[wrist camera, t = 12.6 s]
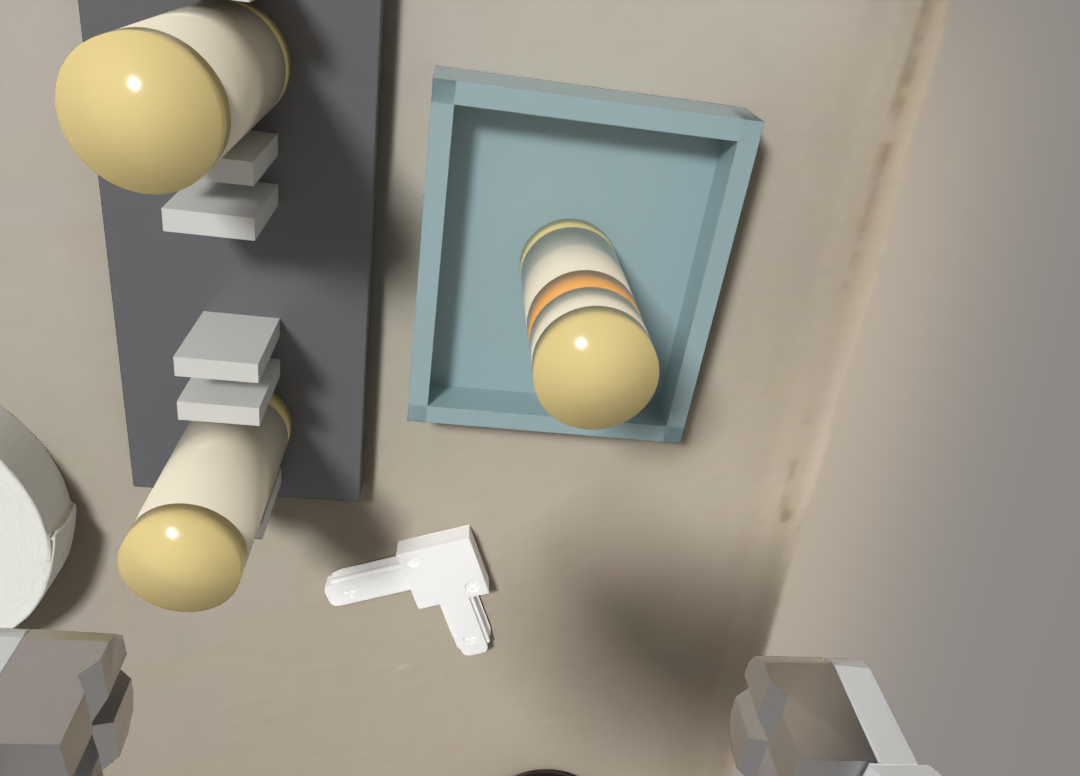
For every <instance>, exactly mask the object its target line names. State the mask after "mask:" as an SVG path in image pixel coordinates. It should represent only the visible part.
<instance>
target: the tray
mask: <svg viewBox="0 0 1080 776" xmlns="http://www.w3.org/2000/svg"><path fill="white" fill-rule="evenodd" d="M764 123H765V122H764V121H762V120H761V119H760V118H758V117H757V116H756V115H754V114H753V113H752V112H750V111H749V110H748V109H746V108H743V107H735V106H728V105H721V104H713V103H706V102H699V101H691V100H684V99H677V98H669V97H662V96H655V95H647V94H640V93H633V92H625V91H618V90H611V89H603V88H596V87H589V86H581V85H574V84H566V83H559V82H552V81H544V80H537V79H530V78H522V77H515V76H508V75H500V74H493V73H486V72H478V71H471V70H464V69H456V68H449V67H442V66H436V67H435V71H434V75H433V84H432V97H431V111H430V124H429V137H428V151H427V164H426V177H425V190H424V204H423V217H422V230H421V244H420V257H419V270H418V284H417V297H416V310H415V324H414V337H413V350H412V364H411V377H410V390H409V403H408V417H407V421H418V422H430V423H442V424H454V425H466V426H478V427H490V428H502V429H514V430H527V431H539V432H551V433H563V434H575V435H587V436H599V437H611V438H623V439H636V440H648V441H660V442H672V443H680V442H681V438H682V434H683V430H684V426H685V423H686V419H687V415H688V411H689V407H690V404H691V400H692V396H693V392H694V388H695V385H696V381H697V377H698V373H699V369H700V366H701V362H702V358H703V354H704V350H705V347H706V343H707V339H708V335H709V332H710V328H711V324H712V320H713V316H714V313H715V309H716V305H717V301H718V297H719V294H720V290H721V286H722V282H723V278H724V275H725V271H726V267H727V263H728V259H729V256H730V252H731V248H732V244H733V240H734V237H735V233H736V229H737V225H738V221H739V218H740V214H741V210H742V206H743V202H744V199H745V195H746V191H747V187H748V183H749V180H750V176H751V172H752V168H753V164H754V161H755V157H756V153H757V149H758V145H759V142H760V138H761V134H762V130H763V126H764ZM561 219H578V220H583V221H586V222H589V223H591V224H593V225H595V226H596V227H598V228H599V229H600V230H602V231H603V232H604V233H605V235H606V236H607V237H608V238H609V240H610V241H611V243H612V246H613V248H614V250H615V253H616V255H617V258H618V260H619V263H620V265H621V268H622V270H623V273H624V275H625V278H626V280H627V282H628V285H629V287H630V290H631V292H632V295H633V297H634V300H635V302H636V305H637V307H638V310H639V312H640V315H641V317H642V320H643V322H644V325H645V327H646V329H647V332H648V334H649V337H650V339H651V342H652V344H653V347H654V349H655V352H656V354H657V358H658V362H659V379H658V384H657V387H656V390H655V392H654V394H653V396H652V398H651V399H650V401H649V402H648V404H647V405H646V406H645V407H644V408H643V409H642V410H641V411H640V412H639V413H638V414H637V415H635V416H634V417H632V418H631V419H629V420H628V421H626V422H624V423H622V424H619V425H617V426H614V427H610V428H606V429H598V430H585V429H578V428H575V427H571V426H568V425H566V424H563V423H562V422H560V421H558V420H556V419H555V418H554V417H552V416H551V415H550V414H549V413H548V412H547V411H546V410H545V409H544V407H543V406H542V405H541V403H540V401H539V399H538V397H537V394H536V391H535V387H534V380H533V372H532V364H531V356H530V348H529V340H528V332H527V324H526V316H525V308H524V299H523V291H522V283H521V275H520V258H521V254H522V251H523V248H524V246H525V244H526V243H527V241H528V240H529V238H530V237H531V236H532V235H533V234H534V233H535V232H536V231H537V230H538V229H540V228H541V227H543V226H544V225H546V224H548V223H551V222H554V221H557V220H561Z"/></svg>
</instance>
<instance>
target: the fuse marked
mask: <svg viewBox="0 0 1080 776" xmlns="http://www.w3.org/2000/svg"><path fill="white" fill-rule="evenodd" d="M520 275H521V283H522V291H523V299H524V308H525V316H526V324H527V332H528V340H529V348H530V356H531V364H532V372H533V380H534V387H535V391H536V394H537V397H538V399H539V401H540V403H541V405H542V406H543V407H544V409H545V410H546V411H547V412H548V413H549V414H550V415H551V416H552V417H554V418H555V419H556V420H558V421H560V422H562V423H563V424H566V425H568V426H571V427H575V428H578V429H585V430H598V429H606V428H610V427H614V426H617V425H619V424H622V423H624V422H626V421H628V420H629V419H631V418H632V417H634V416H635V415H637V414H638V413H639V412H640V411H641V410H642V409H643V408H644V407H645V406H646V405H647V404H648V402H649V401H650V399H651V398H652V396H653V394H654V392H655V390H656V387H657V384H658V379H659V362H658V358H657V354H656V352H655V349H654V347H653V344H652V342H651V339H650V337H649V334H648V332H647V329H646V327H645V325H644V322H643V320H642V317H641V315H640V312H639V310H638V307H637V305H636V302H635V300H634V297H633V295H632V292H631V290H630V287H629V285H628V282H627V280H626V278H625V275H624V273H623V270H622V268H621V265H620V263H619V260H618V258H617V255H616V253H615V250H614V248H613V246H612V243H611V241H610V240H609V238H608V237H607V236H606V235H605V233H604V232H603V231H602V230H600V229H599V228H598V227H596V226H595V225H593V224H591V223H589V222H586V221H583V220H578V219H561V220H557V221H554V222H551V223H548V224H546V225H544V226H543V227H541V228H540V229H538V230H537V231H536V232H535V233H534V234H533V235H532V236H531V237H530V238H529V240H528V241H527V243H526V244H525V246H524V248H523V251H522V254H521V258H520Z"/></svg>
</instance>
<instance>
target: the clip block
mask: <svg viewBox="0 0 1080 776" xmlns="http://www.w3.org/2000/svg"><path fill="white" fill-rule="evenodd" d="M199 1H202V0H78V4H79V12H80V21H81V30H82V39H83V42H85V41H87V40H88V39H90V38H93V37H95V36H98V35H101V34H104V33H107V32H110V31H113V30H116V29H119V28H122V27H125V26H128V25H131V24H134V23H137V22H140V21H143V20H146V19H149V18H152V17H155V16H158V15H160V14H163V13H166V12H169V11H172V10H175V9H178V8H181V7H184V6H187V5H190V4H193V3H196V2H199ZM235 1H242V2H249V3H251V4H253V5H255V6H256V7H258V8H259V9H261V10H262V11H263V12H265V13H266V14H267V15H268V16H269V17H270V18H271V19H272V20H273V21H274V22H275V23H276V25H277V26H278V27H279V29H280V31H281V32H282V34H283V36H284V38H285V40H286V42H287V45H288V48H289V51H290V57H291V77H290V82H289V85H288V88H287V90H286V92H285V94H284V96H283V97H282V98H281V100H280V101H279V102H278V103H277V104H276V105H275V106H274V107H273V108H272V109H271V110H270V111H269V112H268V113H267V114H266V115H265V116H264V117H263V118H262V119H261V120H260V121H259V122H258V123H257V124H256V125H255V126H254V127H253V128H252V129H251V130H250V131H249V132H248V133H247V134H245V135H244V136H243V137H242V138H241V139H240V140H239V141H238V142H237V143H236V144H235V145H234V146H233V147H232V148H231V149H230V150H229V151H228V152H227V153H226V154H225V155H224V156H223V157H222V158H221V159H220V160H219V161H218V162H217V163H216V164H215V165H214V166H213V167H212V168H211V169H210V170H209V171H208V172H207V173H206V174H205V175H204V176H203V177H202V178H201V179H199V180H198V181H197V182H195V183H194V184H193V185H191V186H189V187H187V188H185V189H182V190H180V191H177V192H173V193H168V194H157V195H154V194H143V193H137V192H133V191H130V190H126V189H124V188H121V187H119V186H117V185H114V184H112V183H111V182H109V181H107V180H105V179H104V178H102V177H101V176H99V175H98V178H99V187H100V196H101V205H102V213H103V222H104V231H105V240H106V248H107V257H108V266H109V274H110V283H111V292H112V301H113V309H114V318H115V327H116V336H117V344H118V353H119V362H120V371H121V379H122V388H123V397H124V405H125V414H126V423H127V432H128V440H129V449H130V458H131V467H132V475H133V484H134V486H137V487H151V488H153V487H154V485H155V484H156V482H157V480H158V478H159V476H160V475H161V473H162V471H163V469H164V467H165V466H166V464H167V462H168V460H169V458H170V456H171V455H172V453H173V451H174V449H175V447H176V446H177V444H178V442H179V440H180V438H181V436H182V435H183V433H184V431H185V429H186V427H187V426H188V424H189V422H190V421H203V422H215V423H228V424H240V425H253V426H260V424H261V421H262V419H263V416H264V414H265V412H266V409H267V407H268V404H269V402H270V399H271V397H272V395H273V392H275V393H276V394H277V395H278V396H279V397H280V398H281V399H282V400H283V401H284V402H285V404H286V405H287V407H288V409H289V411H290V414H291V417H292V432H291V435H290V438H289V441H288V444H287V447H286V450H285V452H284V455H283V458H282V461H281V464H280V467H279V470H278V473H277V476H276V478H275V481H274V484H273V487H272V490H271V493H270V496H269V499H268V502H267V504H266V507H265V510H264V513H263V516H262V519H261V522H260V525H259V527H258V530H257V533H256V536H255V539H263V536H264V533H265V530H266V527H267V524H268V521H269V518H270V515H271V512H272V509H273V506H274V503H275V500H276V497H277V496H280V497H294V498H308V499H323V500H337V501H351V502H359V497H360V491H361V485H362V463H363V442H364V420H365V399H366V377H367V355H368V334H369V312H370V291H371V269H372V247H373V226H374V204H375V183H376V161H377V139H378V118H379V96H380V74H381V53H382V31H383V10H384V0H235Z"/></svg>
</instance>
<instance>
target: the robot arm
mask: <svg viewBox="0 0 1080 776" xmlns="http://www.w3.org/2000/svg"><path fill="white" fill-rule="evenodd" d="M126 655H127V652H126V648H125V644H124V639H123V636H122V635H118V634H108V633H91V632H75V631H59V630H42V629H17V628H0V776H103V773H102V770H103V769H104V768H106V767H107V766H108V765H109V764H111V763H112V762H113V761H114V760H115V759H117V758H118V757H119V756H120V754H121V751H122V748H123V746H124V743H125V740H126V738H127V735H128V731H129V726H130V721H131V717H132V712H133V687H132V680H131V678H130V677H129V676H127V675H126V674H125V673H124V672H123V671H122V670H120V669H121V667H122V664H123V662H124V660H125V657H126ZM744 676H745V679H746V682H747V685H748V688H747V689H746V690H744V691H743V692H742V693H740V694H739V695H737V696H736V697H735V701H734V704H733V707H732V710H731V713H730V732H729V734H730V741H731V748H732V753H733V757H734V760H735V764H736V767H737V769H738V770H739V771H740V772H741V773H742V774H743V775H744V776H942V775H941V774H940V773H939V772H937V771H936V770H935V769H933V768H932V767H931V766H930V765H925V764H918V762H917V760H916V758H915V756H914V754H913V752H912V750H911V748H910V746H909V744H908V742H907V740H906V738H905V736H904V735H903V733H902V731H901V729H900V727H899V725H898V723H897V721H896V719H895V717H894V715H893V713H892V711H891V709H890V707H889V705H888V703H887V701H886V699H885V697H884V695H883V694H882V691H881V689H880V687H879V685H878V683H877V682H876V680H875V678H874V676H873V674H872V672H871V670H870V668H869V666H868V665H867V664H866V663H865V662H864V661H863V660H862V659H839V658H838V659H837V658H825V659H823V658H820V657H781V656H755V657H754V658H752V659H751V660H750V661H749V663H748V665H747V668H746V671H745V673H744Z"/></svg>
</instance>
